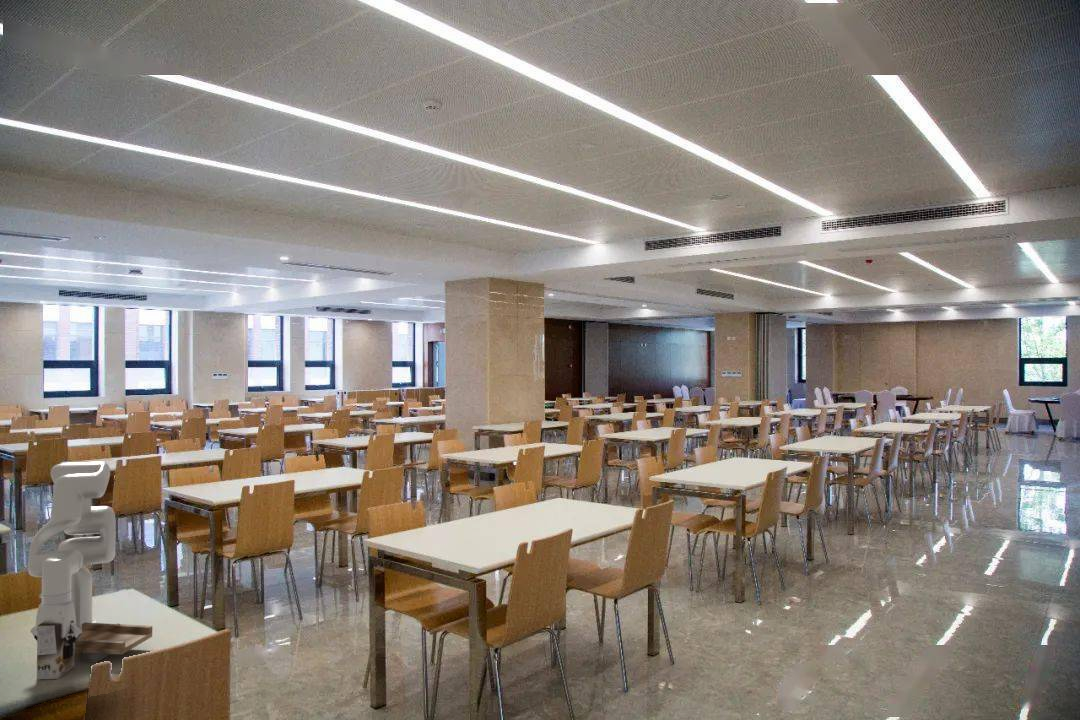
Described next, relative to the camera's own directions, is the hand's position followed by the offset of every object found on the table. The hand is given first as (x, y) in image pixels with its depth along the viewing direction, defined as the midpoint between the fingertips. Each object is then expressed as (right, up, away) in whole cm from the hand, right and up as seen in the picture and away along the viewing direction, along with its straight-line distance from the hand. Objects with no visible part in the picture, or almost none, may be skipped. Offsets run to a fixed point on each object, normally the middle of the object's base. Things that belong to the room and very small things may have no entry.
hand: (56, 656), depth 226 cm
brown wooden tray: (+6, -5, +14) cm, 16 cm away
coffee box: (0, -5, 0) cm, 5 cm away
